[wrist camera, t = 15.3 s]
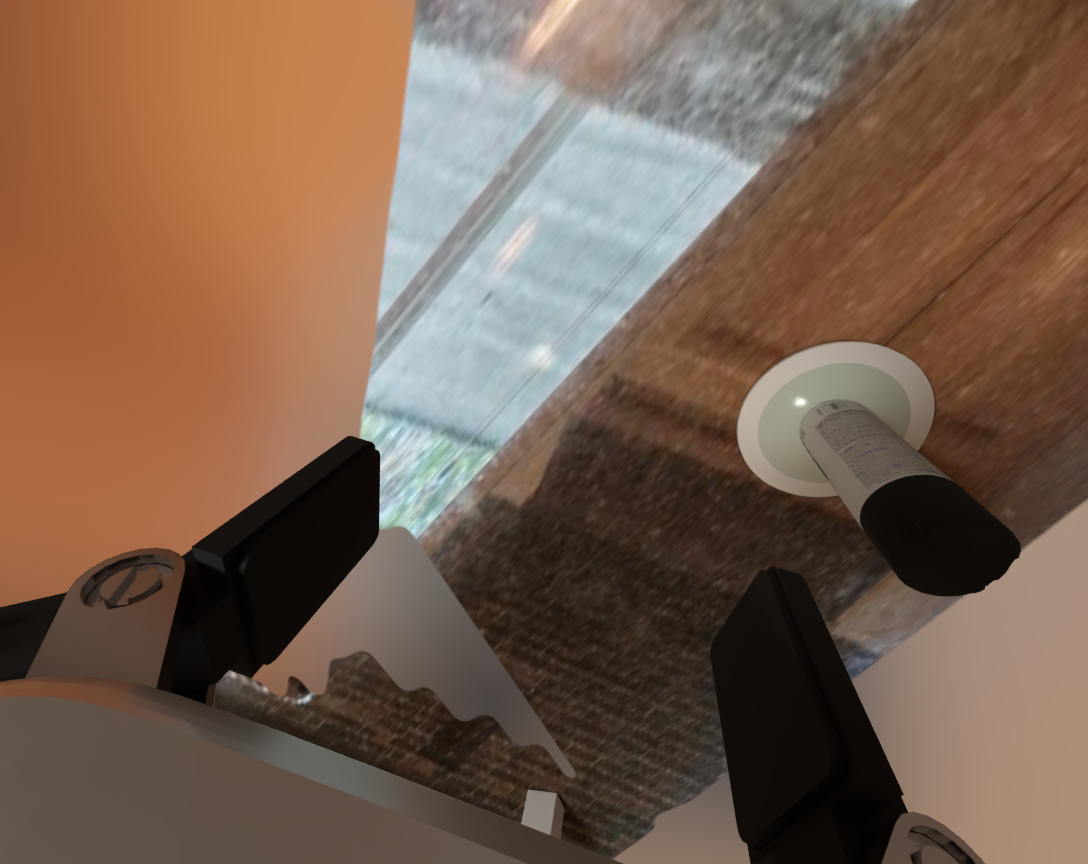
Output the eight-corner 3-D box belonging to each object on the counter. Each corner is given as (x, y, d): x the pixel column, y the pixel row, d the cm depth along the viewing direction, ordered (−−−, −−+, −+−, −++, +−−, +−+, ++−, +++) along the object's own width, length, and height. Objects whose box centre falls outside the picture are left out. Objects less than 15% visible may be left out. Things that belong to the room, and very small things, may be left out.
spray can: (784, 443, 45) (871, 581, 28) (817, 388, 42) (939, 506, 24) (845, 461, 44) (973, 614, 27) (884, 406, 41) (1058, 541, 24)
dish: (782, 319, 41) (786, 322, 40) (970, 367, 39) (980, 371, 38) (710, 465, 50) (712, 471, 48) (862, 509, 48) (867, 516, 47)
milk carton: (557, 791, 93) (538, 914, 77) (564, 808, 96) (548, 930, 79) (528, 788, 95) (504, 906, 79) (536, 804, 98) (514, 922, 81)
